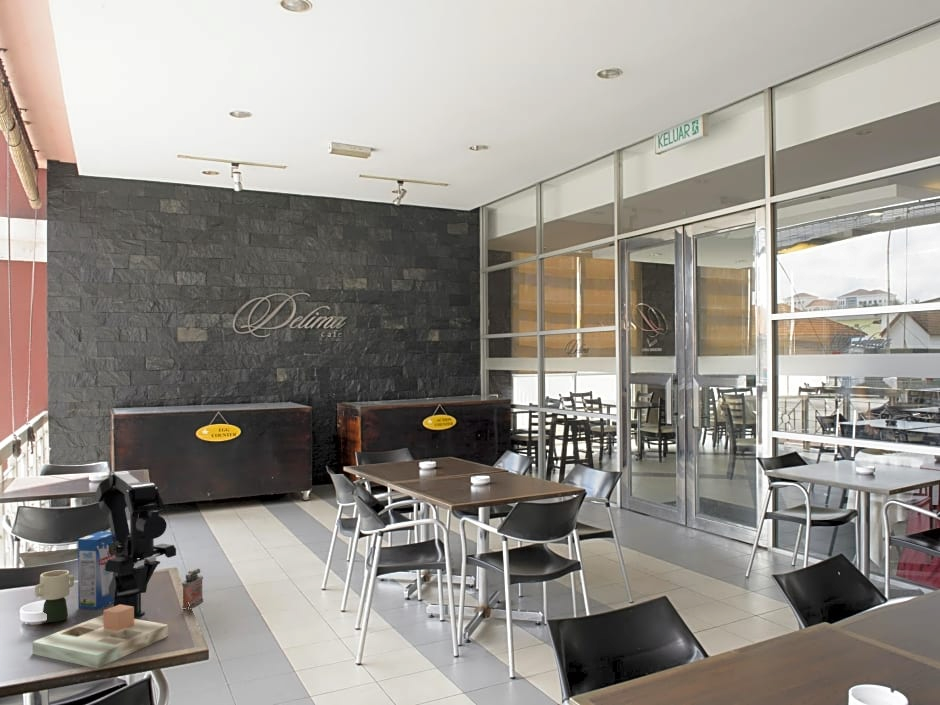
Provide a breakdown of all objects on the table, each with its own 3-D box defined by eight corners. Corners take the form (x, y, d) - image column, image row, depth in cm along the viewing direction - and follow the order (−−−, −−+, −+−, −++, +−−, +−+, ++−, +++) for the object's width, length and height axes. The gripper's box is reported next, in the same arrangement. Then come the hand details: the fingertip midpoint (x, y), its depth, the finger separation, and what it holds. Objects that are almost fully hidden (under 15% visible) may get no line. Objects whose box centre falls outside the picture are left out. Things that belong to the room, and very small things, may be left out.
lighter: (190, 610, 208) (189, 575, 208) (179, 609, 208) (179, 574, 208) (205, 601, 216) (205, 567, 216) (195, 600, 216) (195, 566, 216)
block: (119, 621, 191) (119, 604, 191) (134, 624, 189) (133, 606, 189) (103, 628, 186) (103, 610, 186) (117, 630, 184) (117, 612, 184)
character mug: (65, 612, 207) (65, 566, 207) (81, 616, 204) (81, 569, 204) (27, 625, 197) (26, 577, 197) (43, 629, 194) (43, 580, 194)
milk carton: (97, 609, 209) (97, 539, 209) (78, 608, 210) (77, 539, 210) (120, 598, 219) (119, 531, 219) (101, 597, 220) (100, 531, 220)
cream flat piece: (106, 624, 197) (106, 613, 197) (167, 636, 188) (167, 624, 188) (32, 654, 177) (32, 641, 177) (97, 668, 169) (97, 655, 169)
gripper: (147, 521, 206) (147, 576, 206) (89, 536, 189) (89, 597, 189) (177, 524, 202) (177, 581, 202) (121, 540, 185) (121, 602, 185)
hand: (142, 590), depth 194 cm, fingers closed
